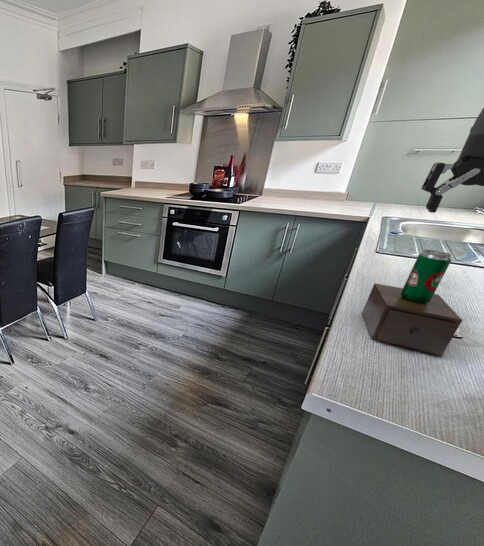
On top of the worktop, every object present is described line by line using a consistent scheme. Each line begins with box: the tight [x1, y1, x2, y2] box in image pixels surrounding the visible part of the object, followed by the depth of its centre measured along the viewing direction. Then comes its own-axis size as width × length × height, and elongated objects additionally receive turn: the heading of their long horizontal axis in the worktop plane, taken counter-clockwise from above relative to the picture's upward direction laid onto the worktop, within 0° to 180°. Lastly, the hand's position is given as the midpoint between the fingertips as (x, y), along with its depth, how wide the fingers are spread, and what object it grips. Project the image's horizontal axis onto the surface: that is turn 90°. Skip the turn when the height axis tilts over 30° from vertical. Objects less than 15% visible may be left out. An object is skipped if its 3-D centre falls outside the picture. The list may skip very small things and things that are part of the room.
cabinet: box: [361, 282, 463, 357], centre depth 77 cm, size 15×12×10 cm
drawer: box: [376, 309, 459, 356], centre depth 75 cm, size 15×11×8 cm
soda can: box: [401, 249, 452, 303], centre depth 72 cm, size 5×5×12 cm
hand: (459, 214), depth 67 cm, fingers open, 8 cm apart
